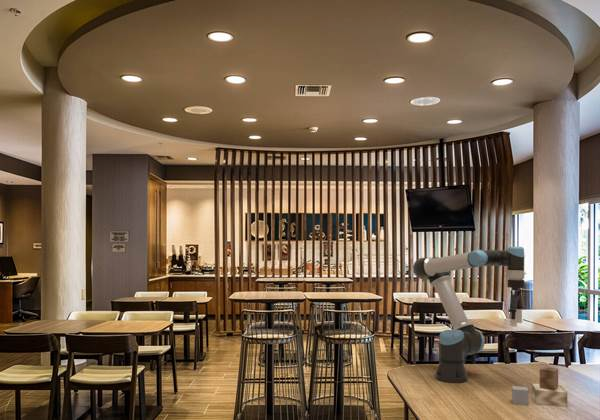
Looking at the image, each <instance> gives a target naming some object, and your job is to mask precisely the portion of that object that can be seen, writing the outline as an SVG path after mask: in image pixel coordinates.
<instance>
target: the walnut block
mask: <svg viewBox="0 0 600 420" xmlns="http://www.w3.org/2000/svg"><path fill="white" fill-rule="evenodd" d="M538 373H539V384H540V388H543V389H549V390H556V389H557V388H558V385H559V368H556V367H549V366H542V367H541V368H539V372H538Z"/></svg>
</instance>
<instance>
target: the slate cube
mask: <svg viewBox="0 0 600 420" xmlns="http://www.w3.org/2000/svg"><path fill="white" fill-rule="evenodd" d="M529 391H530V390H529V389H528V387H527V386H518V385H512V386H511V401H512V404H513V405H523V406H529V405H530V403H529V401H530V400H529V399H530V398H529V396H530V395H529Z"/></svg>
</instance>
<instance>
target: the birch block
mask: <svg viewBox="0 0 600 420" xmlns="http://www.w3.org/2000/svg"><path fill="white" fill-rule="evenodd" d="M531 397H532V399H533V401H534V402H535V404H536V405H540V406H541V405H544V406H554V407H555V406H556V407H565V408H567V407H568V391H567V390H566V389H565V387H564V386H563V385H559V384H558V388H557V389H556V390H549V389H543V388H540V383H531Z"/></svg>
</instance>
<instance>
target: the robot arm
mask: <svg viewBox="0 0 600 420" xmlns="http://www.w3.org/2000/svg"><path fill="white" fill-rule="evenodd" d="M525 257H526V256H525V248H524V247H523V246H508V247H507V249H505V250H502V249H501V250H500V249H499V250H498V249H496V250H495V249H486V250H485V249H484V250H483V249H476V250H473V251H469V252H463V253H457V254H452V255H448V256H447V255H446V256H441V257H439V256H435V257H420V258H418V259H416V260H415V261H414V264H413V266H412V270H413V273H414V275H415V277H417V278H418V279H420V280H428V282H429V285H430V286H432V287H434V288H435V290H436V294H437V295H438V298H439V300H440V303H441V304H442V306H443V309H444V311H445V313H446V315H447V316H446V317H448V320H449V322H450V325H451V327H452V328H451V329H446V330H443V331H440V333H439V339H438V343H439V346H438V347H439V349H438V351H439V353H438V354H439V356H438V357H439V359H438V360H439V362H438V365H437V369H436V371H435V379H436V380H438V381H441V382H446V383H454V384H455V383H465V382H467V381H468V380H469V379H468V373H467V370H466V367H465V364H464V362H465V359H464V357H465V356H470V355H472V356H473V355H476V354H478V353H480V352H482V351H483V349H484V347H485V336H484V334H483V333H482V332H481V331H480V330H478V329H476V327H475V325H474V324H473V323H471V322H469V319H468V318H467V315H466V313H465V311H464V309H463V306H462V304H461V302H460V299H459V298H458V296H457V293H456V291H455V289H454V286H453V284H452V283H451V279H452V275H451V273H452V271H454V272H455V271H460V270H465V269H472V268H479V267H480V268H481V267H507V270H506V271H507V272H506V273H507V274H506V275H507V278H508V279H507V288H509V289H510V288H512V289H511V290H510V301H509V309H508V312H509V313H510V314H509V315H510V316H509V317H510V322H509V324H510V327H518V324H522V323H523V311H522V310H524V309H525V308H524V306H523V296H522V295H523V294H522V289H525V284H526V283H525V275H526V274H527V273H526V272H525Z"/></svg>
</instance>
